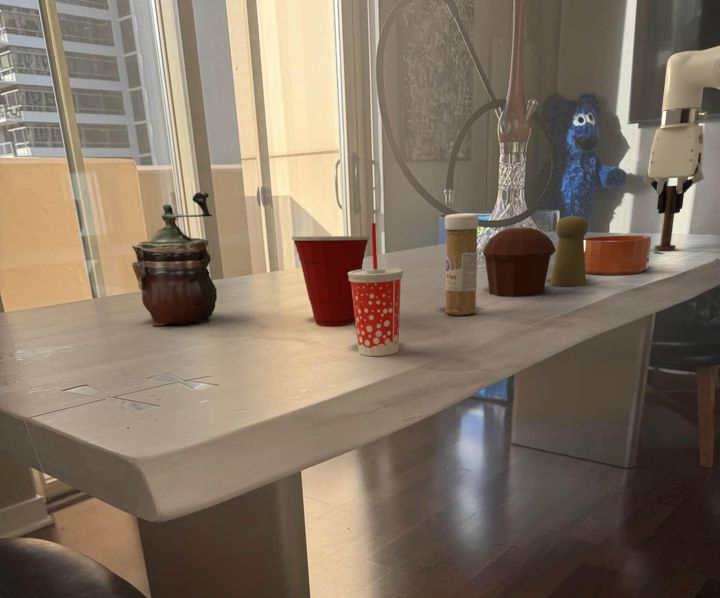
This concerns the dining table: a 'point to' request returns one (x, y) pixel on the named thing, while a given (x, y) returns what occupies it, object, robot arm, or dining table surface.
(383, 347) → the beverage cup
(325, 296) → the plastic cup
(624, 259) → the bowl
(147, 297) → the coffee grinder
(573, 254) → the cork
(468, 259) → the sprinkles bottle
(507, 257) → the muffin
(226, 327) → the dining table surface
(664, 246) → the muddler
